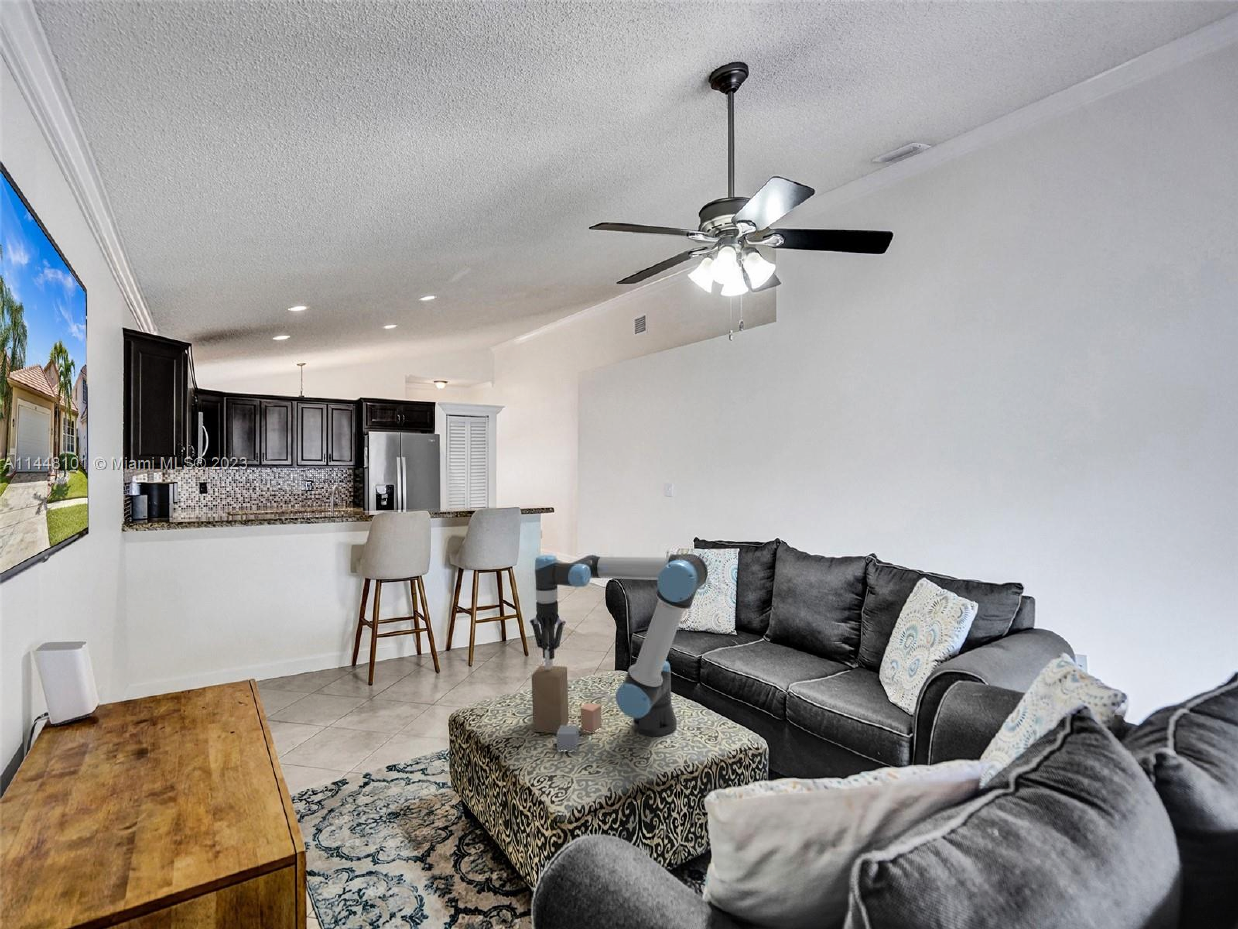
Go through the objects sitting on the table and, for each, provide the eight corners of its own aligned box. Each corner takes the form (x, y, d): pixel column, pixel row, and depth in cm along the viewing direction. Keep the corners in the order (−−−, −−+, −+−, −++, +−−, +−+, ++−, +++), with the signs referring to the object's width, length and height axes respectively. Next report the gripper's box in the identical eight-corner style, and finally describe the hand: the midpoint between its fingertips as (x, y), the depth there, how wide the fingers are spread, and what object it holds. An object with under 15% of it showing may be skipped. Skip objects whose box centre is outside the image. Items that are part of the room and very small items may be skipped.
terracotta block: (601, 728, 219) (600, 705, 219) (593, 734, 215) (592, 711, 215) (589, 725, 222) (589, 702, 221) (581, 730, 218) (580, 708, 217)
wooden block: (561, 735, 215) (559, 677, 214) (533, 733, 217) (530, 675, 216) (569, 721, 225) (567, 666, 224) (542, 720, 227) (540, 665, 226)
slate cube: (578, 743, 209) (578, 725, 208) (575, 752, 203) (574, 734, 203) (561, 743, 209) (560, 725, 209) (557, 752, 204) (556, 733, 203)
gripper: (568, 599, 220) (570, 666, 221) (535, 596, 225) (537, 662, 226) (558, 604, 213) (560, 673, 214) (524, 602, 218) (527, 669, 219)
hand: (549, 667), depth 220 cm, fingers closed
